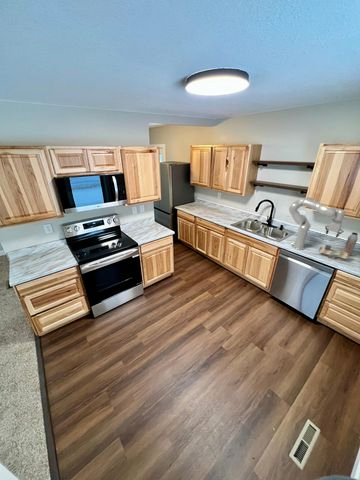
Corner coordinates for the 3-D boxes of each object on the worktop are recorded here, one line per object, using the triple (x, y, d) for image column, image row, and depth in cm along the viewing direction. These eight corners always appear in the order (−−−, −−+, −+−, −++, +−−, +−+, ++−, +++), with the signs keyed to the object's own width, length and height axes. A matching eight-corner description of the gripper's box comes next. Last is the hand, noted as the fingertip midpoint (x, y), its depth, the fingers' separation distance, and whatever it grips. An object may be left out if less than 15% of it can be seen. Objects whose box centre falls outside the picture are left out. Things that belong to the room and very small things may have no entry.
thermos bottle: (348, 257, 219) (357, 235, 207) (340, 254, 226) (349, 232, 213) (351, 255, 223) (361, 233, 210) (343, 252, 229) (352, 231, 216)
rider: (323, 251, 221) (325, 246, 218) (324, 249, 225) (325, 244, 222) (329, 252, 218) (330, 247, 215) (329, 250, 222) (331, 245, 219)
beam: (317, 255, 226) (319, 248, 222) (318, 252, 230) (320, 246, 226) (345, 262, 211) (348, 255, 208) (345, 259, 216) (348, 253, 212)
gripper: (326, 219, 210) (321, 233, 218) (345, 224, 198) (339, 239, 206) (329, 218, 214) (324, 231, 222) (348, 223, 201) (342, 237, 209)
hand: (331, 235), depth 214 cm, fingers open, 9 cm apart
